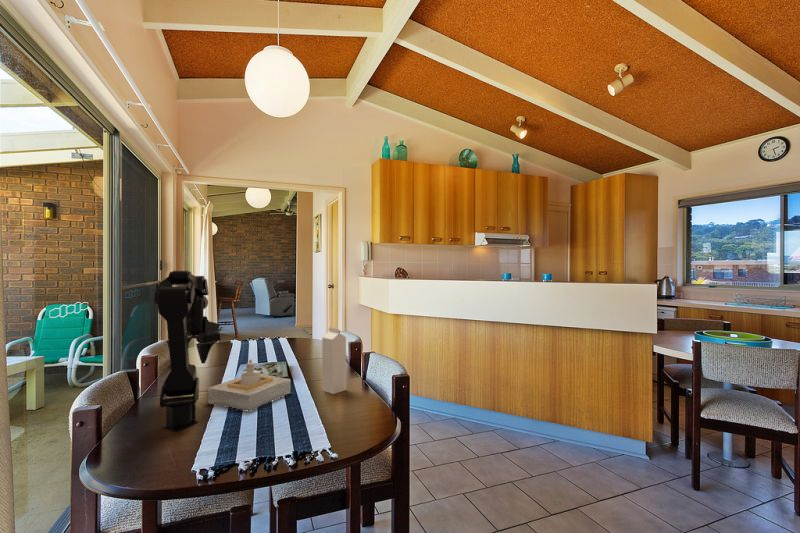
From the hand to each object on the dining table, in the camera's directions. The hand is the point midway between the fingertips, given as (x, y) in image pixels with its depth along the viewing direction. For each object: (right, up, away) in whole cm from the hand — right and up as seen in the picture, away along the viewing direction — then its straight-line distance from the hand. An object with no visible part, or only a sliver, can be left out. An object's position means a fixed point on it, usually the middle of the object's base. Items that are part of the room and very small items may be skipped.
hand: (194, 361), depth 123 cm
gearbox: (+19, -13, +5) cm, 23 cm away
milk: (+44, -13, +10) cm, 47 cm away
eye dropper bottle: (+18, -12, +3) cm, 21 cm away
